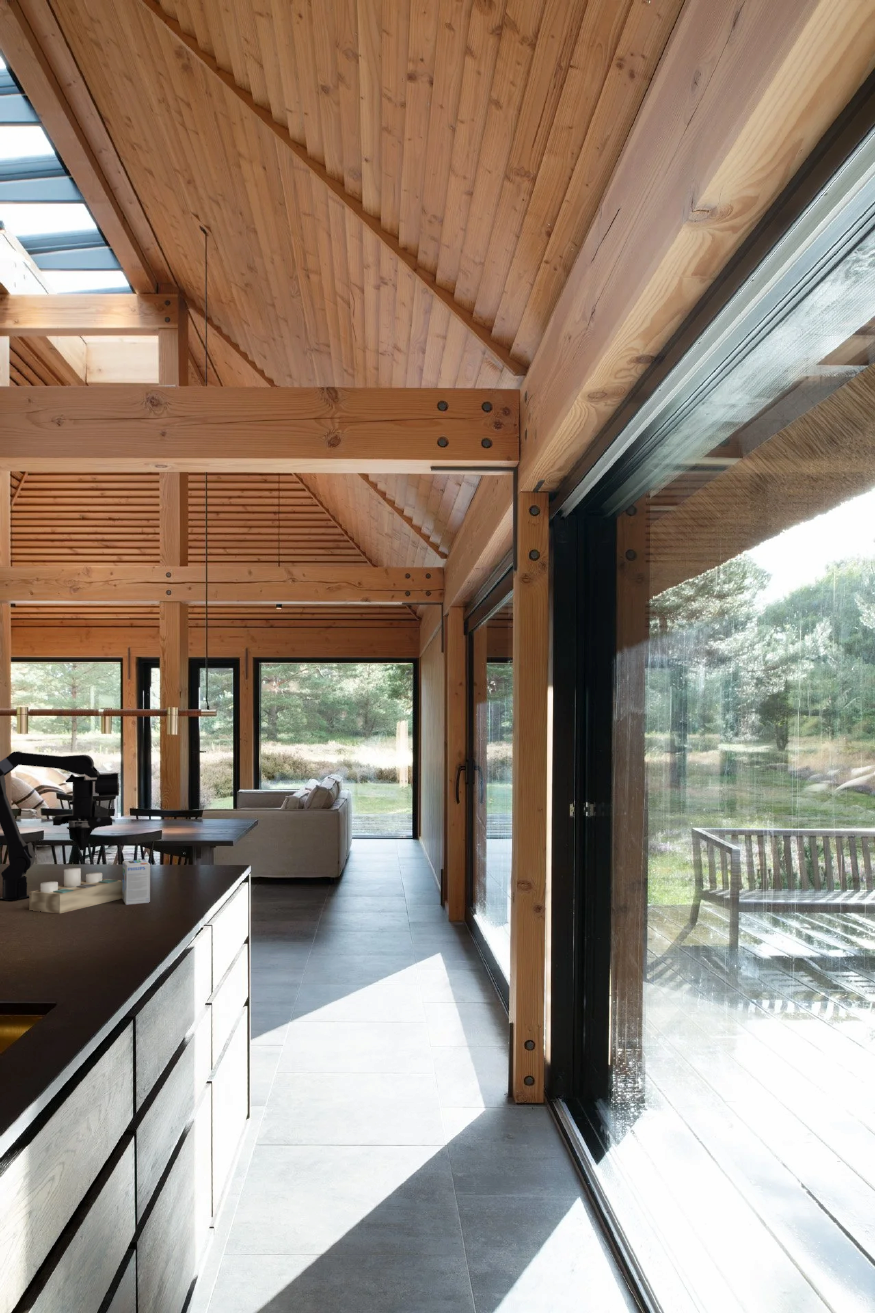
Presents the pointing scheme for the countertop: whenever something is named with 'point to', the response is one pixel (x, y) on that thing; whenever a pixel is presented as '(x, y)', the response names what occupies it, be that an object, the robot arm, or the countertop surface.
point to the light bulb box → (136, 882)
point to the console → (75, 896)
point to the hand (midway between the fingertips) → (82, 850)
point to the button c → (93, 877)
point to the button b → (72, 877)
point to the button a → (49, 887)
